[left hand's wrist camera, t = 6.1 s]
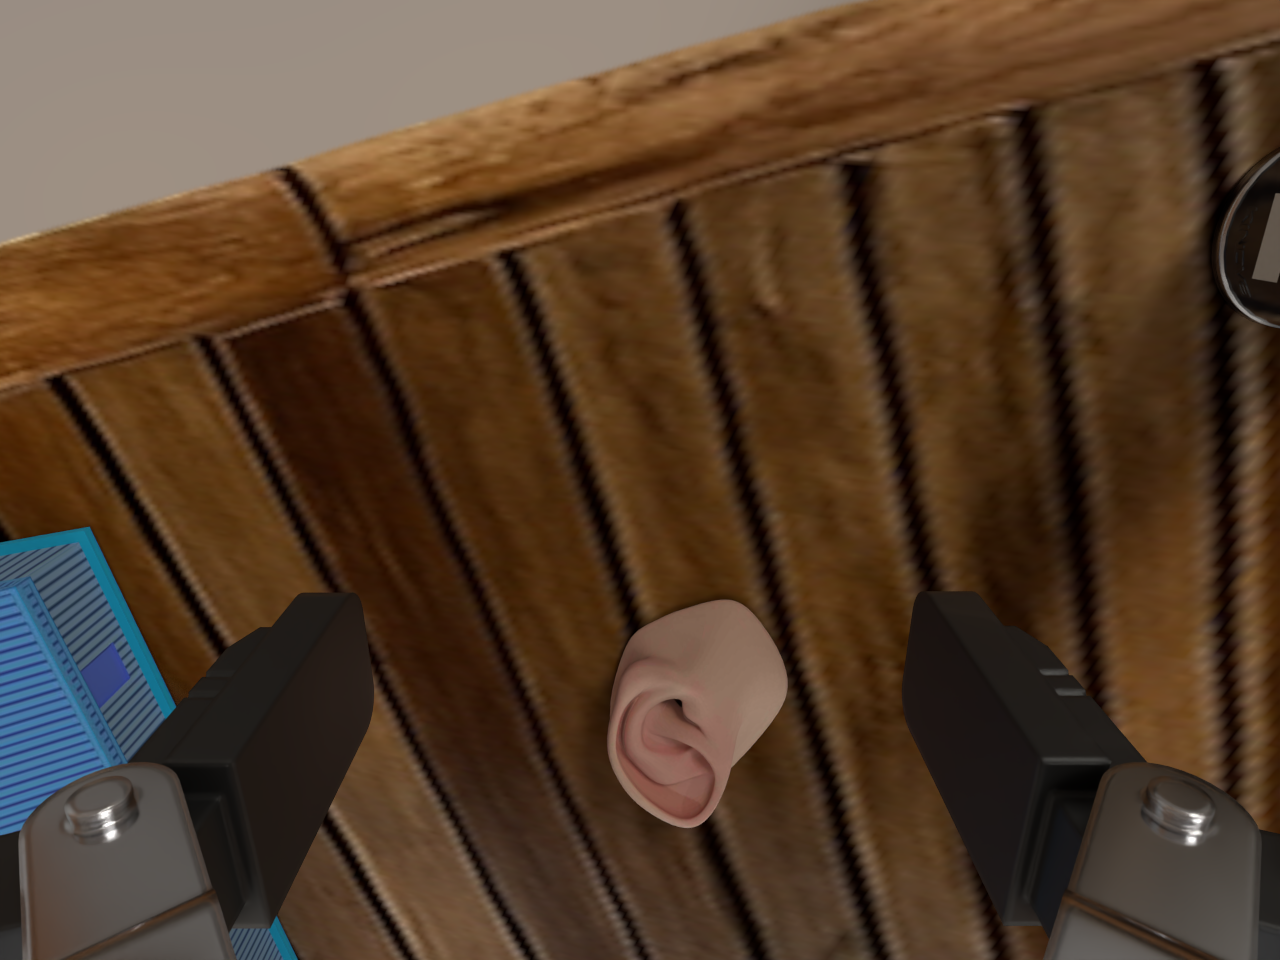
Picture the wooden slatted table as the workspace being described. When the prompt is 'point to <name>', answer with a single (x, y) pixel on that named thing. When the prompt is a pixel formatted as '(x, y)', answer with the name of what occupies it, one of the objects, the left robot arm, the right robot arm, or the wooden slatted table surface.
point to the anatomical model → (691, 707)
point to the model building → (77, 685)
